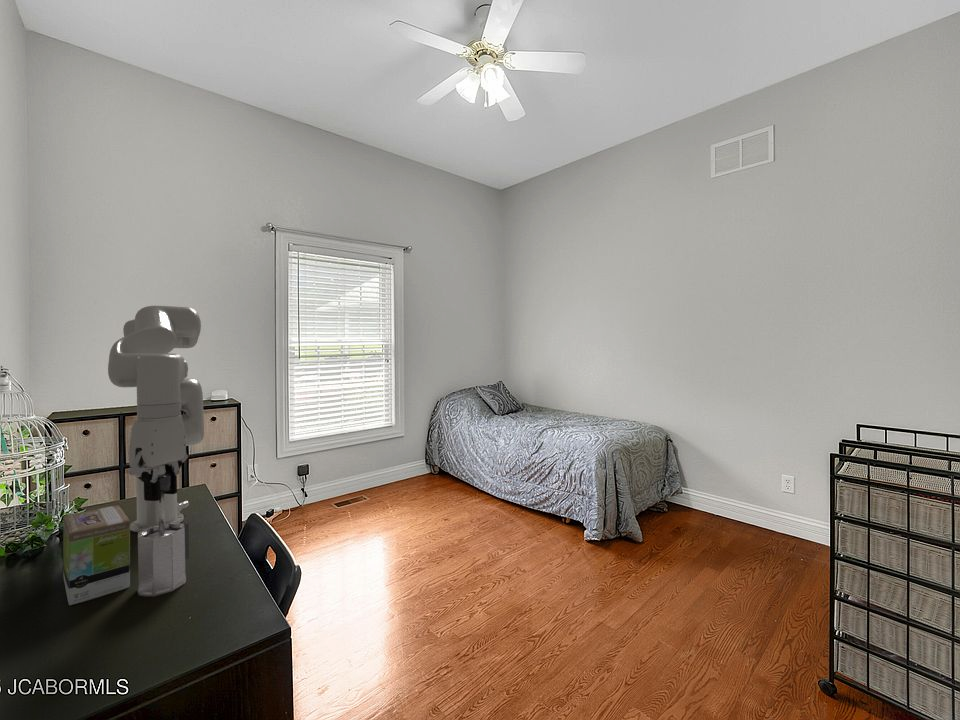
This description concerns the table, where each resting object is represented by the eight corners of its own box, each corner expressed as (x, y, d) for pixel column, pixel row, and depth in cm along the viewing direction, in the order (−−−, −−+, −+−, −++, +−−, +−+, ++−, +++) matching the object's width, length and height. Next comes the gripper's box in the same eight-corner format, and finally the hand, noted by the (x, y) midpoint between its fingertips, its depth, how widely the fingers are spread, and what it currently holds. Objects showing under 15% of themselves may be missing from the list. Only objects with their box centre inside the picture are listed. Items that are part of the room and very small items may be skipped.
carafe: (170, 569, 101) (169, 518, 100) (203, 571, 100) (202, 519, 99) (127, 595, 90) (126, 537, 90) (163, 597, 89) (162, 539, 89)
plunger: (161, 532, 96) (160, 472, 96) (183, 533, 96) (182, 473, 96) (139, 542, 91) (137, 479, 91) (162, 544, 90) (161, 480, 90)
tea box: (132, 587, 93) (130, 519, 93) (67, 608, 86) (66, 533, 85) (120, 564, 103) (119, 502, 103) (62, 580, 96) (60, 514, 96)
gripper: (175, 406, 102) (176, 484, 102) (105, 417, 85) (107, 510, 86) (204, 407, 101) (205, 485, 101) (140, 418, 84) (141, 511, 85)
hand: (160, 496), depth 93 cm, fingers closed on plunger, 3 cm apart
